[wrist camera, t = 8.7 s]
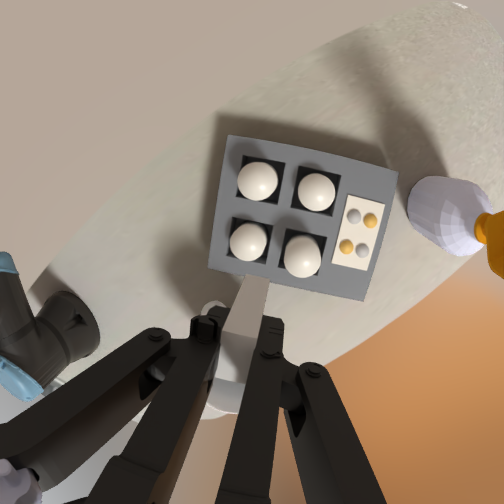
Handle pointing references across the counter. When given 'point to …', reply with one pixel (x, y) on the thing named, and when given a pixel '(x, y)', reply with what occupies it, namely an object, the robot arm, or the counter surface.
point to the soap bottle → (457, 218)
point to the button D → (316, 191)
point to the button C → (302, 256)
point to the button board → (305, 216)
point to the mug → (224, 384)
